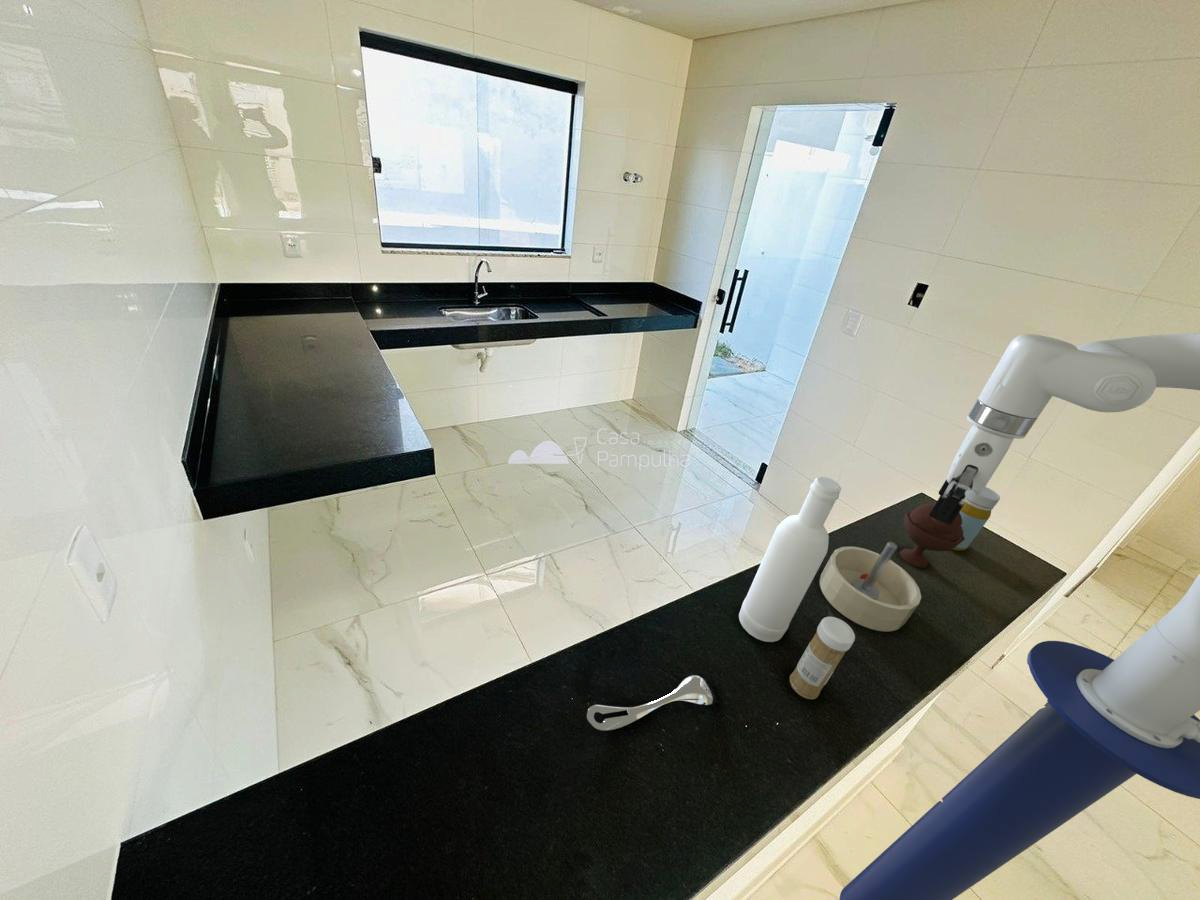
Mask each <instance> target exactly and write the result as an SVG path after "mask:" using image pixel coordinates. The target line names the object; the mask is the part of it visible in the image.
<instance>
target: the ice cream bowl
mask: <svg viewBox="0 0 1200 900" xmlns="http://www.w3.org/2000/svg"><path fill="white" fill-rule="evenodd" d="M934 505H935V504H930V503H925V504H924V503H923V504H921V505H918V506H917V507H916V508H914V509H911V510H909V511H907V512H906V513H905V515H904V519H903V521H904V522H903V524H904V527H905V530H906V533H907V535H908V537H909V539H910V540H911V541H912V542H913V543H915V546H914V548H913V549H911V548H903V549H901V550H900V551H899V555H900V558H901V559H903V560H904V561H905V562H906V563H907V564H910V565H911V566H913V567H916V568H926V567H927V566H928V560H927V558H926V557H925V556H924V555H923V553H924V551H925V550H926V551H934V552H949V551H951V550H952V549H953V548H955V547H956V546H957V545H959V544H960V543H961V542H962V541H963V540H965V538H964V536H963V529H962V527H961V525H962V517H961V515H960V512H959V513H958V515H957V517H956V518H955V520H954V521H953V523H952V524H951V525H948V524H946V523H944V522H941V521H939V520H937V519H934V518H932V517H930V516H929V514H930V512H931V510H932V509H933V507H934Z"/></svg>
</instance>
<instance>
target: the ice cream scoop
mask: <svg viewBox="0 0 1200 900" xmlns="http://www.w3.org/2000/svg"><path fill="white" fill-rule="evenodd" d="M716 696H717V695H716V694H715V692H714V690H713V688H712V686H711V685H710V683H709V681H708V680H707V679H706V678H705V677H704V676H702V674H699V673H690V674H688V675H686V676H685V677H684V678H683V680H682V681H681V682H680V683H679V684H678V686H677V687H676V688H675V689H674V690H673V691H672V692H671V693H669V694H667V695H665V696H663V697H661V698H659V699H657V700H654V701H651V702H648V703H647V702H646V703H642V704H637V705H614V704H594V705H591V706H590V707H589V708H588V709H587V711H586V714H585V719H586V721H587V723H588V724H589V725H590V727H592V728H593V729H595V730H596V731H601V732H606V731H612V730H616V729H620V728H623V727H625V726H628V725H629V724H632V723H633V722H635V721H638V720H639V719H641V718H643V717H645V716H646V715H648V714H649V713H651V712H653V711H654V710H657V709H658V708H660V707H661V706H663V705H666V704H669V703H672V702H677V701H678V702H679V701H683V702H689V703H693V704H697V705H702V706H703V705H704V706H709V705H713V704H716V703H717V697H716ZM621 712H626V713H627V714H626V715H620V716H613V717H608V718H604V719H603V721H602V722H598V721H596V719H595V714H597V713H598V714H601V715H608V714H615V713H621Z"/></svg>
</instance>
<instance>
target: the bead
mask: <svg viewBox="0 0 1200 900" xmlns="http://www.w3.org/2000/svg"><path fill="white" fill-rule="evenodd" d="M867 576H868V574H862V575H861V576H860V579H864V580H865V579H866V578H867Z"/></svg>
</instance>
